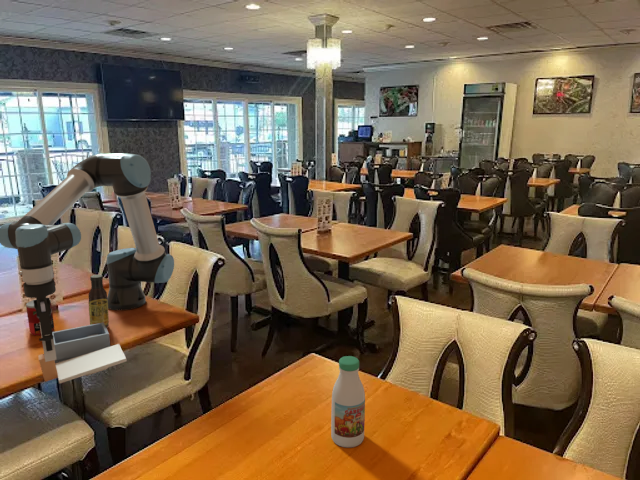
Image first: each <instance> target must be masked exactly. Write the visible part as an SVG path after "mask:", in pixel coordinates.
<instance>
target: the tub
mask: <svg viewBox="0 0 640 480" xmlns="http://www.w3.org/2000/svg"><path fill="white" fill-rule="evenodd" d="M52 334H53V336H54V345H55V352H56V360H54V361H55V364H56V363H59V362H62V361H65V360H69V359H72V358H75V357H78V356H81V355H84V354H88V353H91V352H94V351H97V350H100V349H104V348H107V347H110V346H111V340H110V333H109V331H108V328H106V326H105V324H104V322H102V323H97V324H92V325H90V324H88V325H82V326H77V327H73V328H72V327H71V328H67V329H62V330H56V331H52Z"/></svg>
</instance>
